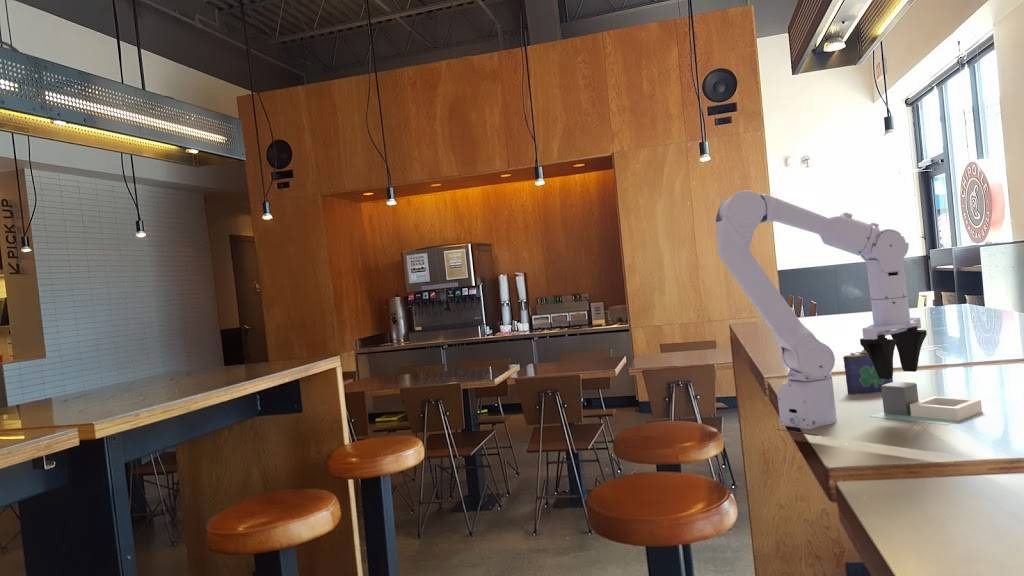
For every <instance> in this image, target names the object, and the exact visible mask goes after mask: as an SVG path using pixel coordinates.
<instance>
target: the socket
mask: <svg viewBox="0 0 1024 576" xmlns="http://www.w3.org/2000/svg"><path fill="white" fill-rule="evenodd" d="M910 410H911V416H917V417H926V418H936V419H946V420H956V421H957V422H960V421H962V419H963V420H965V419H967V417H968V418H971V417H973V416H975V414H976V415H978V414H980V412H981V413H983V412H982V411H983V406H982V400H981V399H977V398H976V399H973V398H961V397H960V398H959V397H949V396H935V395H933V396H930V397H928V398H925V399H922V400H919V401H918V402H915V403H912V404H910ZM977 413H978V414H977ZM972 415H973V416H972ZM964 418H965V419H964ZM959 420H960V421H959Z"/></svg>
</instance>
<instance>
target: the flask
mask: <svg viewBox="0 0 1024 576" xmlns="http://www.w3.org/2000/svg"><path fill="white" fill-rule="evenodd" d="M843 365H844V374H845V379H846V380H845V381H846V389H847V394H848V395H861V394H863V395H864V394H871V393H872V394H874V393H882V389H881V386H882V385H885V384H888V383H891V382H894V377H892V379H879V377H878V375H877V373H876V370H875V367H874V365H873V363H872V360H871V358H870V357H869V355H868V353H867V352H866V350H865V349H864V348H863V350H861V351H856V352H855V353H853V352H850V354H848V355H843Z"/></svg>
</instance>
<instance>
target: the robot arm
mask: <svg viewBox="0 0 1024 576" xmlns="http://www.w3.org/2000/svg"><path fill="white" fill-rule="evenodd" d="M852 217H853V214H851V213H849V212H843V213H842V214H840V213H834V214H833V215H831V216H829V217H826V216H824V215H822V214H818V213H816V212H814V211H811V210H809V209H806V208H803V207H801V206H798V205H795V204H794V203H791V202H787V201H785V200H782V199H780V198H776V197H775V196H772V195H769V194H766V193H765V194H764V193H760V194H758V193H757V192H755V191H753V190H741V191H738V192H737V193H735V194H734V195H731V196H730V197H726V198H725V199H724V200H723V201H721V203H720V205H719V207H718V208H717V212H716V215H715V217H714V224H715V230H716V252H717V255H718V258H719V259H720V261H721V262H722V263H723V265H724V266H725V268H726V269H727V270H728V272H729V273H730V275H731V276H732V278H733V279H734V281H735V282H736V283H737V284H738V286H739V288H740V289H741V290H742V291H743V293H744V294H745V296H746V297H747V298H748V300H749V301H750V303H751V304H752V306H753V307H754V308H755V310H756V311H757V313H758V315H760V317H761V318H762V319H763V321H764V322H765V324H766V325H767V327H768V328H769V330H770V331H771V333H772V334H773V335H774V338H775V343H776V344H777V346H778V347H779V349H780V351H781V357H782V359H781V360H782V361H783V363H784V365H785V366H786V367H787V368H788V369H789V371H788V373H787V382H786V383H785V384H783V385H782V386H780V388H779V390H778V391H777V392H778V393H777V404H778V412H779V421H780V422H779V423H780V426H784V427H791V428H798V429H805V430H812V429H815V428H818V427H822V426H825V425H826V426H827V425H831V424H835V423H836V422H837V421H838V419H837V409H836V401H835V394H834V393H835V392H834V383H833V376H832V374H833V373H832V371H833V369H834V367H835V363H836V357H835V354H834V352H833V349H832V348H830V346H829V345H827V344H825V343H824V342H821V341H820V340H819V339H817V338H816V336H815V335H814V333H813V332H812V331H811V330H810V329H809V328H808V327H806V326H805V324H803V323H802V322H801V320H800V319H799V318H798V316H797V315H796V314H795V312H794V311H793V309H792V308H791V307H790V305H789V304H788V302H787V300H786V299H785V298H784V297H783V295H782V294H781V293H780V291H779V290H778V288H777V287H776V285H774V282H773V281H772V280H771V278H770V277H769V276H768V275H767V273H766V272H765V270H764V268H763V267H762V265H761V264H760V263H759V262H758V260H757V259H756V257H755V256H754V255H753V254H752V252H751V251H750V247H751V243H752V240H753V236H754V232H755V231H756V229H757V227H758V226H759V225H761V224H768V223H773V222H776V223H779V224H783V225H786V226H790V227H792V228H796V229H800V230H803V231H806V232H810V233H813V234H817V235H819V237H820V239H821V241H822V242H823V244H824V245H826V246H829V247H831V248H835V249H838V250H840V251H844V252H847V253H850V254H853V255H856V256H860V258H861V259H862V260H864V261H865V262H866V267H867V268H866V269H867V278H868V279H867V280H868V288H869V295H870V303H871V314H872V321H873V323H872V324H870V325H868V326H867V327H862V329H861V330H862V336H863V337H862V338H860V339H859V342H860V346H861V347H862V348H863V350H864V349H865V350H866V352H867V353H868V355H869V357H870V358H871V360H872V363H873V365H874V367H875V370H876V373H877V375H878V377H879V379H892V377H893V376H894V351H895V349H896V348H897V349H896V350H897V352H898V356H899V363H900V365H901V368H902V371H903V372H912V373H913V372H914V373H915V372H917V371H918V367H919V366H918V365H919V360H920V359H919V358H920V354H921V350H922V346H923V343H924V342H925V338H926V337H927V329H922V324H921V317H911V316H910V306H909V297H908V296H909V295H908V288H907V280H906V272H905V266H904V265H905V263H904V259H905V257H906V255H907V254H908V252H909V246H910V243H909V242H907V241H906V239H905V237H904V236H903V235H902V233H900V232H899V231H898V230H895V229H892V228H891V229H889V228H886V229H880V228H879V223H875V222H871V223H867V222H865V221H861V220H859V219H855V218H852ZM887 336H890V337H891V338H892V339H891V338H888V337H887ZM893 378H894V377H893ZM776 430H777V431H780V432H781V431H782V432H788V433H789V432H790V433H796V434H802V435H810V436H817V434H815V433H808V432H801V431H795V430H789V429H788V430H786V429H779V428H777V429H776Z"/></svg>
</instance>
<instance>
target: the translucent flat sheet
mask: <svg viewBox="0 0 1024 576" xmlns="http://www.w3.org/2000/svg"><path fill="white" fill-rule="evenodd" d="M980 413H983V410H982V412H980ZM980 413H977V414H975V415H978V414H980ZM975 415H972V416H971V417H973V416H975ZM869 417H871V418H881V419H886V420H887V419H889V420H900V421H907V422H915V423H927V424H935V425H936V424H937V425H943V426H949V425H952V424H954V423H957V422H960V421H962V420H965V419H967V418H969V417H967V418H964V419H962V420H959V421H956V420H946V419H936V418H926V417H917V416H911V415H908V416H904V415H894V414H884V411H882V412H879V413H876V414H873V415H870V416H869Z"/></svg>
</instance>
